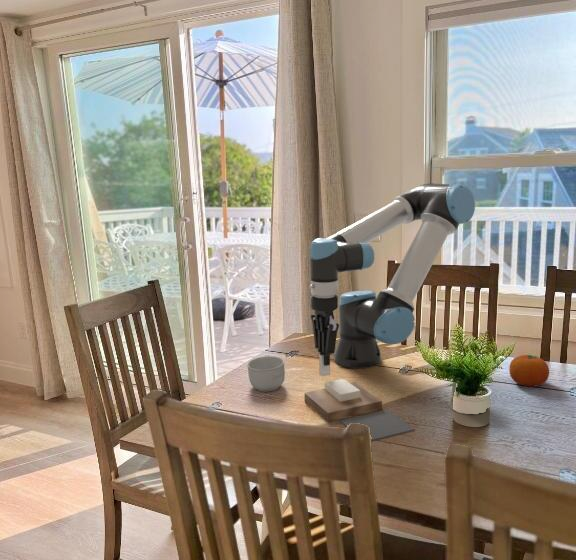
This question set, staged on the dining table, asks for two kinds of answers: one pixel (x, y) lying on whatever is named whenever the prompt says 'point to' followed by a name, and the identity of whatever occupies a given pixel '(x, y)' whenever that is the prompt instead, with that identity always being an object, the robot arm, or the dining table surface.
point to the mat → (381, 424)
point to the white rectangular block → (342, 390)
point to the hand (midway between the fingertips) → (324, 374)
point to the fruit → (529, 370)
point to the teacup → (266, 373)
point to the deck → (342, 404)
